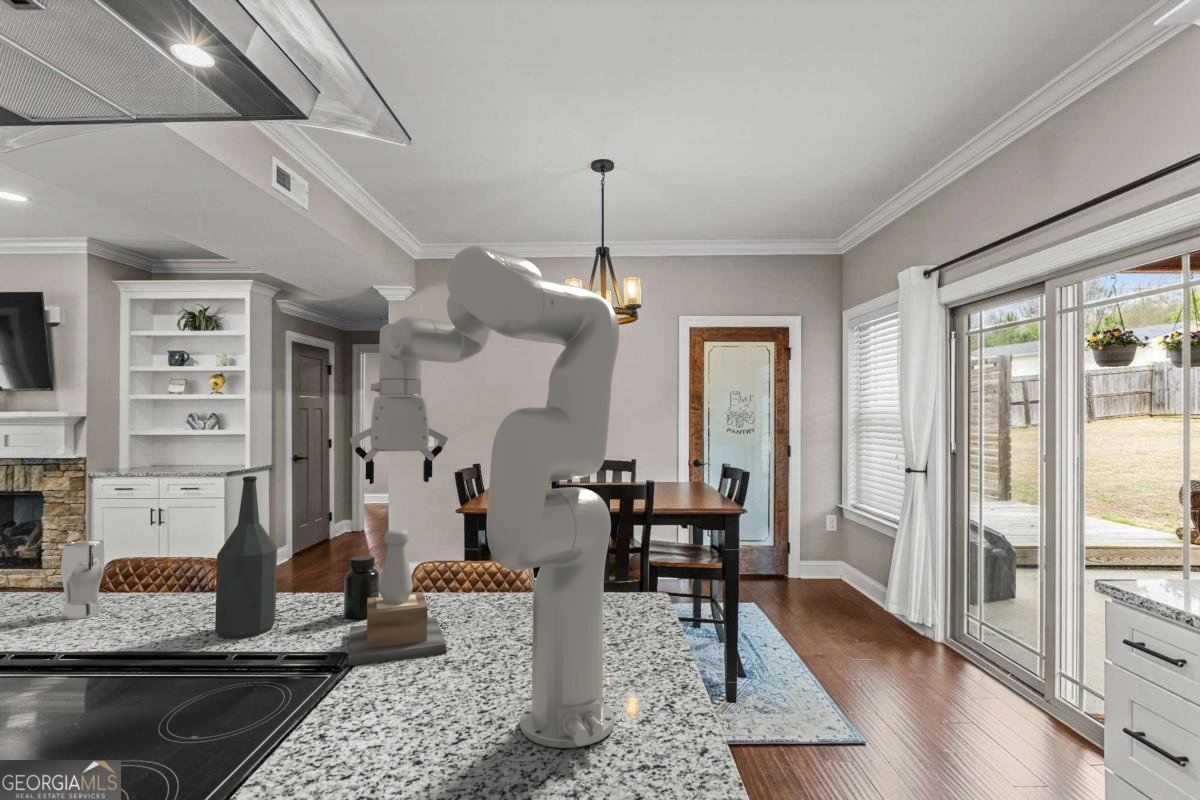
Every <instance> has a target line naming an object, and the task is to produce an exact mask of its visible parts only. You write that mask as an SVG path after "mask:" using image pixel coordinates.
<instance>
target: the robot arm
mask: <svg viewBox="0 0 1200 800" xmlns="http://www.w3.org/2000/svg"><path fill="white" fill-rule="evenodd" d="M446 286H447V290H448V293H449V295H448V297H447V300H446V309H447V310H446V311H447V315H448V318H449V320H450V321H451V322H449V321H445V320H438V319H437V320H436V319H432V318H431V319H430V318H422V317H416V316H403V317H401V318H399V319H397V320H396V321H395V322H394V323H388V324H387V323H386V324H384V325H382V326H381V328H380V330H379V359H378V361H379V363H378V364H379V365H378V366H379V368H378V370H379V371H378V373H379V374H378V380H379V381H377V382H375V383H371V384H370V391H371V392H376V393H378V396H375V397H374V399H373V404H372V410H371V411H372V412H371V419H370V420H371V424H370V427H369V428H368V429H365V430H363V431H361V432H359V433H358V434H355V435H353V436H351V437H350V438H349V442H350V444H351V446H352V448H353V449H354V452H355V454H357V455H358V456H359V457H361V458H362V459H363V460H364V462H365V480H369V482H368V483H369V485H373V484H374V483H375V462H374V457H375V456H376V455H377V454H378V453H379V452H417V451H420V452H421V454H422V455H423V456H424V460H423V465H422V466H423V470H422V471H423V478H422V480H423V482H425V483H429V482H430V480H429V479H430V478H432V477H433V460H435V458H436V457H437V456H438V455H440V453H441V452H442V451H443V450H444V449H443V448H444V447H445V445H446V444H447V441H448V439H449V438H448V436H446V435H444V434H442V433H440V432H438V431H436V430H434V429H432V428H430V426H429V413H428V406H427V405H428V403H427V399H426V397H422V361H423V362H424V361H428V362H439V363H445V364H447V363H449V364H450V363H451V364H452V363H453V364H454V363H459V362H462V361H466V360H468V359H469V358H471V357H473V356H475V355H477V354H479V353H481V352H482V351H483V350H484V348H485V347H486V344H487V343H488V341H489V338H490V335H491V331H494V332H495V333H498V334H500V335H502V336H503V337H507V338H511V339H516V340H524V341H530V342H531V341H533V342H537V343H538V342H539V343H545V344H546V343H549V344H556V345H561V346H563V347H564V349H563V350H562V351H561V353H560V354H559V355H558V357H557V358H556V360H555V362H554V364H553V366H552V369H551V371H550V375H549V378H548V392H547V398H546V404H545V407H540V406H539V407H537V406H536V407H533V406H531V407H523V408H519V409H515V410H514V411H512V412H510V413H509V414H508V415H506V416H505V418H504V419H503V420H502V421H501V423H500V425H499V426H498V428H497V430H496V433H495V437H494V440H493V443H492V450H491V458H490V459H491V461H490V470H489V472H490V473H489V486H488V498H487V499H488V500H487V507H486V510H487V511H486V538H487V545H488V549H489V552H490V553H491V555H492V557H493V559H494V560H495V561H496V563H497V564H498V565H500V566H501V567H502V568H504V569H507V570H511V571H523V570H530V569H536V568H539V570H538V572H537V576H536V578H535V581H534V586H533V594H532V595H533V596H532V640H531V641H532V642H531V643H532V652H531V653H532V654H531V655H532V660H531V661H532V662H531V663H532V664H531V666H532V667H531V668H532V669H531V670H532V671H531V672H532V673H531V676H532V677H531V683H532V684H531V685H532V686H531V704H530V705H528V706H527V707H526V708H525V709H524V710H523V711H522V712H521V714H520V719H519V720H520V721H519V722H520V724H519V726H520V730H521V733H522V734H523V735H524V736H525V737H526V738H527V739H529V740H530V741H532V742H534V743H536V744H538V745H541V746H545V747H549V748H550V747H551V748H556V749H557V748H558V749H559V748H560V749H569V748H570V749H573V748H579V747H580V748H582V747H585V746H589V745H592V744H596V743H597V742H600V741H602V740H603V739H605V738H606V737H608V735H610V734H611V733H612V731H613V730H614V727H615V715H614V714H615V713H614V711H613V710H612V708H611V707H609V706H608V704H606V703H604V698H603V697H604V696H603V695H604V583H605V581H604V580H605V566H606V559H607V554H608V549H609V544H610V537H611V530H612V521H611V515H610V511H609V508H608V506H607V504H606V502H605V500H603V498H602V497H601V496H600V495H599V494H598V493H596V492H594V491H593V490H590V489H587V488H584V487H577V486H576V487H575V486H573V487H572V486H571V487H558V488H549V489H548V486H549V485H548V484H549V482H557V481H567V480H576V479H582V478H588V477H590V476H592V475H594V474H597V473H598V472H599V470H601V468H602V466H603V465H604V462H605V459H606V453H607V446H608V444H607V443H608V436H609V421H610V409H611V398H612V383H613V374H614V369H615V364H616V358H617V355H618V349H619V343H620V325H619V320H618V317H617V314H616V312H615V309H614V308H613V307H612V305H611V304H610V303H609V302H608V301H607V300H606V299H605V298H604V297H602V296H600V295H599V294H597V293H595V292H593V291H591V290H588V289H586V288H582V287H579V286H577V285H576V286H575V285H573V284H568V283H564V282H561V281H560V282H559V281H554V280H549V279H545V278H543V275H542V273H541V272H540V270H539V268H538V267H536V265H534V264H533V263H532V262H531V261H529V260H527V259H525V258H524V257H521V256H517V255H515V254H512V253H511V254H510V253H506V252H503V251H499V250H495V249H492V248H487V247H484V246H476V245H475V246H468V247H466V248H463V249H461V250H460V251H459V252H458V253H457V254H456V255H454V257H453V258H452V259H451V261H450V263H449V265H448V268H447V271H446ZM368 437H370V447H371V448H370V450H369V451H368V452H367V451H366V450H365V449H364V448H362V446H361V444H360V442H361V441H362V440H364V439H366V438H368ZM430 437H431V438H433V439H435V440H437V444H436V446H435V447H434V448H433V449H432V450H430V449H429V448H428V447H429V440H430V439H429V438H430Z"/></svg>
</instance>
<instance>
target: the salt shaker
mask: <svg viewBox="0 0 1200 800" xmlns="http://www.w3.org/2000/svg"><path fill="white" fill-rule="evenodd" d="M409 534H410V533H409V531H408V530H406V529H401V528H400V529H399V528H398V529H390V530H387V531H386V532H385V533H384V540H383V541H384V544H386V545H387V551H386V555H385V559H384V564H383V571H382V573H381V579H380V583H379V595H381V596H382V598H383V600H384V602H385V604H391V605H396V604H402V603H405V602H406V601H407V600H408V598H409V596H410V594H412V591H413V588H414V585H413V578H412V574H411V568H410V563H409V557H408V551H407V543H409V541H410V535H409ZM381 596H380V597H381Z"/></svg>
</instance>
